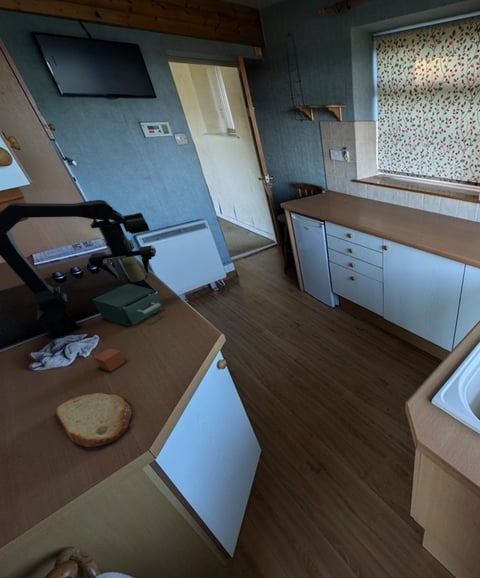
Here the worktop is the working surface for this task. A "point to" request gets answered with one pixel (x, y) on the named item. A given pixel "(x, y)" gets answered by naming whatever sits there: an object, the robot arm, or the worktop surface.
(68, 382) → the worktop surface
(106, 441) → the bread slice
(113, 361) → the block
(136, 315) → the drawer
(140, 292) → the cabinet
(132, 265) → the cork
